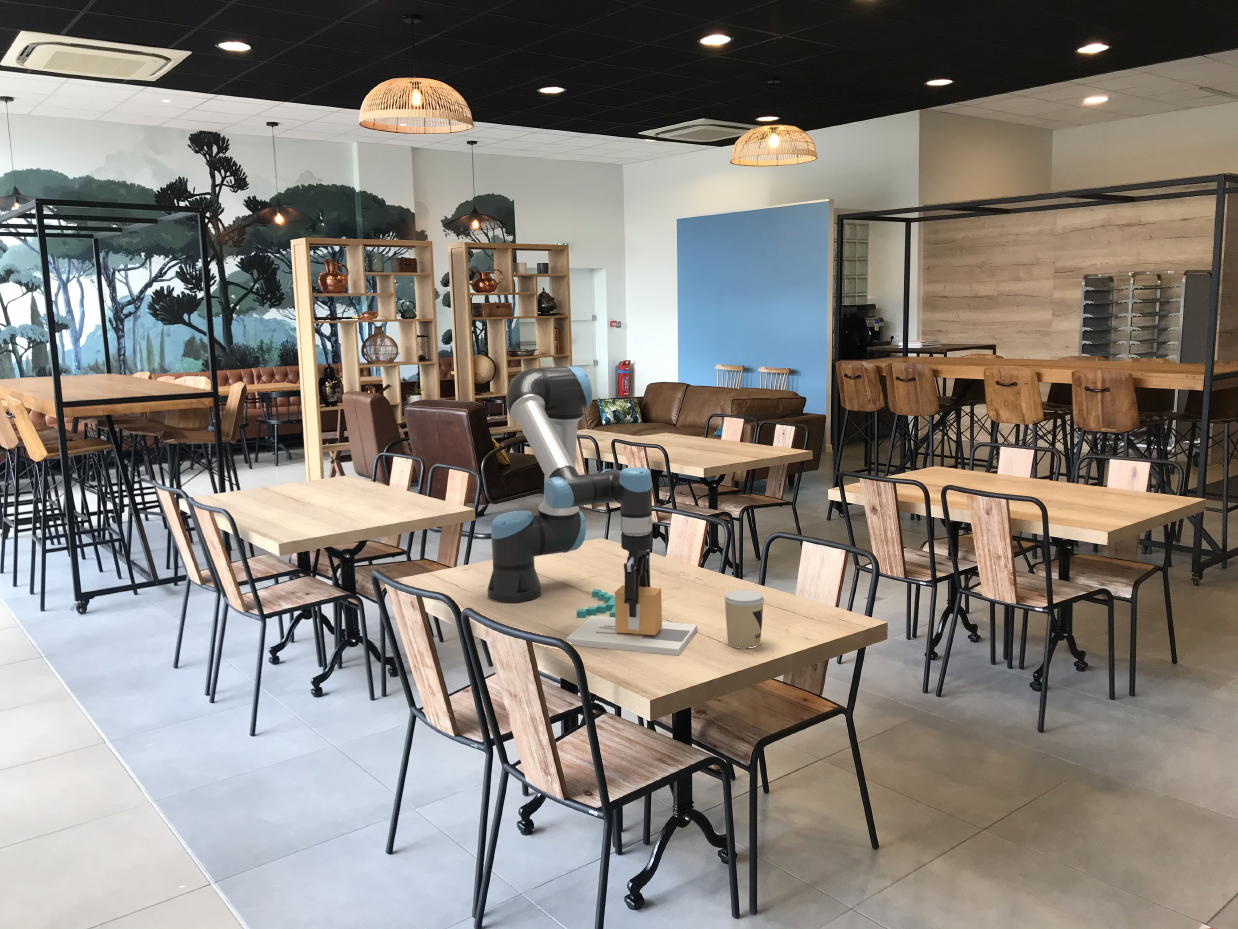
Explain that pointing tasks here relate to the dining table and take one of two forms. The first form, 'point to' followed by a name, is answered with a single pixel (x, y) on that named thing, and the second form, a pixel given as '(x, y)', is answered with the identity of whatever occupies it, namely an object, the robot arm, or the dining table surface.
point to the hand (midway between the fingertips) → (638, 624)
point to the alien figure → (601, 607)
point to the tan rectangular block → (648, 611)
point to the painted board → (632, 637)
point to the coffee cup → (744, 617)
